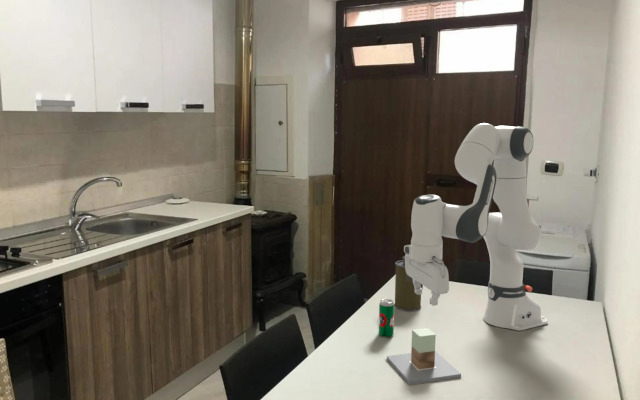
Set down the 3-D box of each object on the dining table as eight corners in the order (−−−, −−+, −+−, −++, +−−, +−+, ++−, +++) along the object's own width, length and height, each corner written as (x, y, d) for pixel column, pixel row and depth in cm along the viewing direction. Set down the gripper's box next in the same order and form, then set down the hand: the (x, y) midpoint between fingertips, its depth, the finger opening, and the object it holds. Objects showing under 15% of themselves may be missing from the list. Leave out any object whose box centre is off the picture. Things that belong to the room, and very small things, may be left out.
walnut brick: (426, 359, 155) (426, 343, 155) (434, 367, 151) (435, 351, 150) (411, 361, 154) (411, 345, 153) (418, 369, 149) (419, 353, 149)
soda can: (393, 338, 173) (393, 304, 171) (377, 337, 174) (378, 302, 172) (394, 332, 178) (394, 298, 176) (379, 331, 179) (379, 297, 177)
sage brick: (426, 343, 155) (427, 327, 154) (434, 351, 150) (435, 334, 149) (411, 345, 153) (412, 329, 153) (419, 353, 149) (419, 336, 148)
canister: (400, 312, 197) (401, 261, 194) (390, 302, 207) (391, 254, 204) (426, 309, 199) (428, 259, 196) (415, 300, 209) (417, 252, 206)
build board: (434, 353, 162) (434, 349, 162) (461, 377, 147) (461, 373, 147) (386, 359, 158) (386, 355, 158) (409, 384, 143) (409, 381, 143)
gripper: (455, 261, 138) (454, 310, 140) (420, 243, 158) (419, 287, 160) (434, 263, 136) (433, 313, 139) (401, 245, 156) (400, 289, 158)
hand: (425, 299), depth 149 cm, fingers open, 8 cm apart
